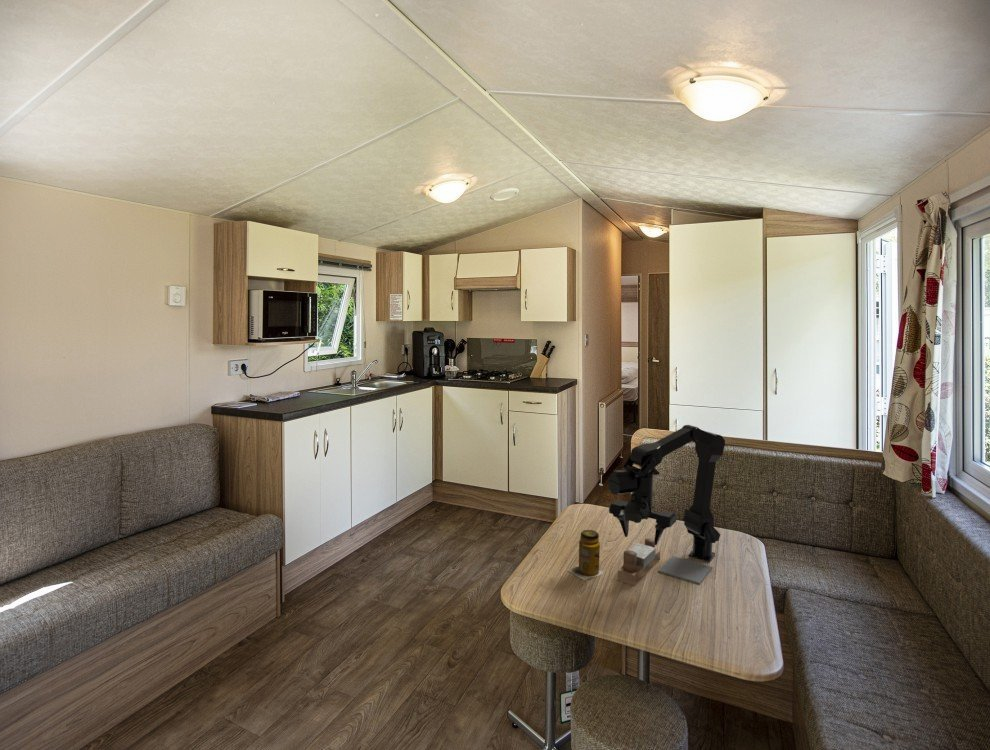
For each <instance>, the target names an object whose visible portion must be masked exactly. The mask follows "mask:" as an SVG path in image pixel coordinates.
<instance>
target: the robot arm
mask: <svg viewBox="0 0 990 750" xmlns="http://www.w3.org/2000/svg"><path fill="white" fill-rule="evenodd" d="M692 442H693V443H694V450H695V453H696V455H697V458H698V463H697V464H698V465H697V471H696V479H695V485H694V493H693V502H692V504H691V505H690V507H689V508H685V509H684V516H683V519H682V521H683V524H684V527H685V528H686V530H687V533H688V534H690V535H691V536H693V539H692V550H691V551H690V552H689V553H688V556H689V557H692V558H695V559H698V560H703V561H706V562H711V561H712V559H714V558H715V556H716V552H714V551H713V544H715V543H716V542H719V541H720V537H721V533H720V532H719V531H718V530H717V529H716V527H714V526H715V524H714V523H715V522H714V515H713V513H712V510H711V501H712V494H713V493H712V492H713V487H714V486H713V485H714V478H715V471H716V464H717V462H719V459H720V458H722V456H723V453H724V449H725V446H726V440H725V439H724V437H723V435H721V434H717V433H713V432H711V431H706V430H703V429H702V428H701V429H700V428H699V427H698V426H694V425H691V424H684V425H682V427H681V428H679V429H677V430H675V431H674V432H672V433H670V434H668V435H666V436H664V437H663V438H660V439H659V440H657V441H655V442H651V443H642V444H640V445H637V446H634V447H633V448H632V449H631V452H630V454H629V455H628V457H627V459H626V460H625V462H624V463H623V465H622V466H621V467H622V469H619V470H618V469H616V470H615V469H614V470H612V474H611V475H609V478H608V480H607V484H608V489H609V490H610V492H611V493H612V495H614V496H617V495H624V494H629V493H630V496H629V501H624V500H620V499H616V500H614V501H613V502H612V503H610V504H609V506H608V514H611V515H612V517H614V518H616V519H617V520H618V521H619V523H620V525H621V529H622V532H623V535H624V537H625V538H628V535H629V529H630V528H629V526H630V522H632V523H633V522H634V523H635V524H640V523H641V522H642V521H643V520H648V519H653V520H655V523H656V524H655V525H654V528H655V533H654V534H655V535H654V540H655V546H657V545H658V543H659V541H660V540H661V537H662V535H663V532H664V531H665V530H666V529H667V528H671V527H672V526H674V525H675V524H676V522H677V515H676V513H675V512H672V511H669V510H666V509H665V510H664V509H662V510H661V511H659V512H655V511H653V510H654V505H653V497H655V492H654V491H653V489H654V485H653V484H654V476H658V475H660V471H658V469H656V467H657V466H659V464H661V463H662V461H663V459H664V458H665V457H666V456H668V455H670V454H672V453H673V452H675V451H677V450H679V449H680V448H682V447H685V446H686V445H687V444H690V443H692ZM634 465H635V466H634Z"/></svg>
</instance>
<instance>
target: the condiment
mask: <svg viewBox="0 0 990 750" xmlns="http://www.w3.org/2000/svg"><path fill="white" fill-rule="evenodd" d="M599 537H600V536H599V532H598V531H596V530H592V529H586V530H585V529H583V530H581V532H580V539H579V543H578V566H575V567H573V568H569V569H567V571H568V572H570V573H571V574H572V575H574V576H576V577H577V578H579V579H581V580H583V581H586V580H589V579H592V578H595V577H599V576H601V575H604V574H606V572H605V571H604V570H601V569H600V558H601V557H600V551H601V550H600V549H601V546H600V545H601V544H600V539H599Z"/></svg>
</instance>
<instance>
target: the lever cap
mask: <svg viewBox="0 0 990 750" xmlns="http://www.w3.org/2000/svg"><path fill="white" fill-rule="evenodd" d="M628 550H631V551H634V552H636V553H637V559H636V567H640V568H643V569H644V568H645V567H646V566H647V565H648V564H649V563H650V562H651V561H652V560H653V559H654V558H655V553H656V550H657V548H656V547H655V548H654V547H650V546H647V545H645V544H642V543H639V542H636V543H635V544H634V545H632V546H631V547H630V548H629V549H628Z"/></svg>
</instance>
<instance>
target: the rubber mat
mask: <svg viewBox="0 0 990 750" xmlns="http://www.w3.org/2000/svg"><path fill="white" fill-rule="evenodd" d="M712 569H713V567H712V566H709V565H707V564H702V563H701V562H700V563H699V562H697V561H696V562H695V561H693V560H688V559H685V558H682V557H678V556H674V555H672V556H671V557H670V558H669V559H668V560H667V561H665V563H664V564H663V565H662V566H661V567H660V568H659V569H658V573H660V574H662V575H663V574H664V575H667V576H671V577H674V578H677V579H680V580H683V581H687V582H691V583H693V584H697V585H701V584H702V583H703V581H705V579H706V577H707V576H708V574H710V572H711V570H712Z"/></svg>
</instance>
